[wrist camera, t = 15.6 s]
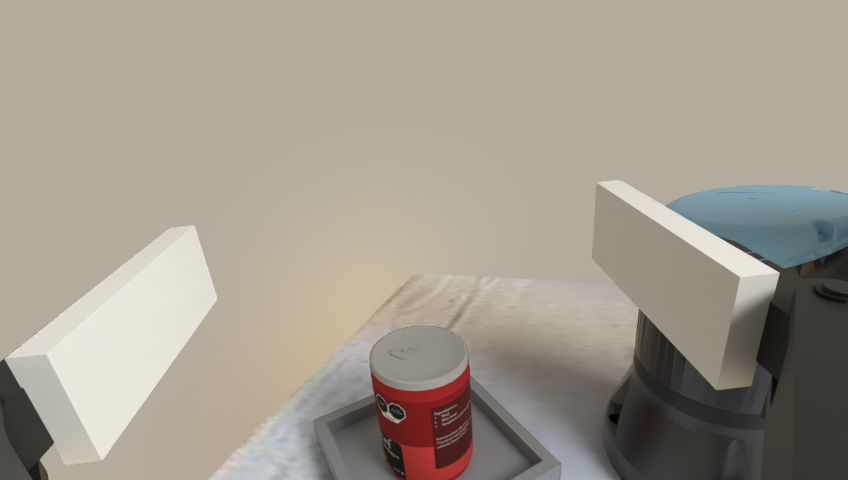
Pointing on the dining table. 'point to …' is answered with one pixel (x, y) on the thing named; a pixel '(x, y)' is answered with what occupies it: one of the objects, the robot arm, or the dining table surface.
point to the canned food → (423, 402)
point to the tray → (492, 444)
